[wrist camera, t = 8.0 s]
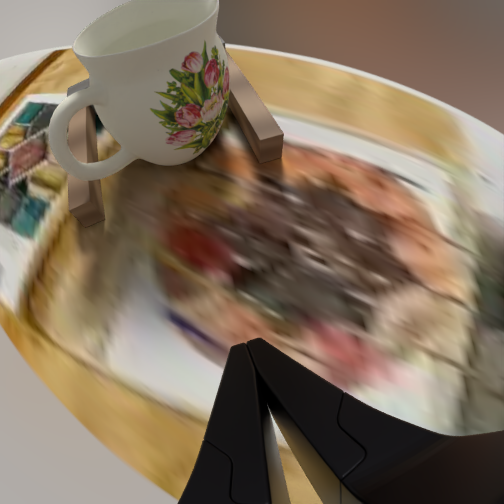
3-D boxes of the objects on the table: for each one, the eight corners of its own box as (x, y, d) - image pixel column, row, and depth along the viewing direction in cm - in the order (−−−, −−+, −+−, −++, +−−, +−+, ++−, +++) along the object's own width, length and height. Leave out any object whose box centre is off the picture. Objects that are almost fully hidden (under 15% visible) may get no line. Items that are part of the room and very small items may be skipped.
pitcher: (69, 188, 26) (-6, 85, 13) (192, 79, 31) (173, -26, 19) (141, 249, 23) (49, 124, 11) (273, 112, 29) (278, -15, 16)
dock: (281, 157, 26) (284, 125, 23) (85, 227, 24) (63, 203, 20) (222, 62, 33) (219, 35, 29) (80, 111, 30) (68, 88, 27)
